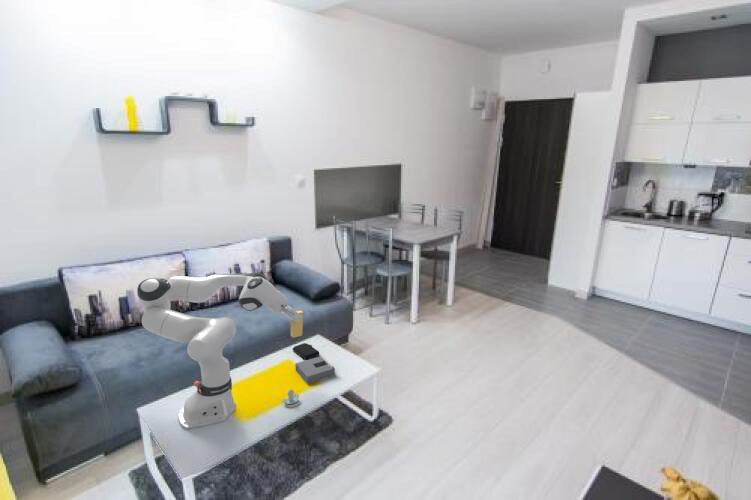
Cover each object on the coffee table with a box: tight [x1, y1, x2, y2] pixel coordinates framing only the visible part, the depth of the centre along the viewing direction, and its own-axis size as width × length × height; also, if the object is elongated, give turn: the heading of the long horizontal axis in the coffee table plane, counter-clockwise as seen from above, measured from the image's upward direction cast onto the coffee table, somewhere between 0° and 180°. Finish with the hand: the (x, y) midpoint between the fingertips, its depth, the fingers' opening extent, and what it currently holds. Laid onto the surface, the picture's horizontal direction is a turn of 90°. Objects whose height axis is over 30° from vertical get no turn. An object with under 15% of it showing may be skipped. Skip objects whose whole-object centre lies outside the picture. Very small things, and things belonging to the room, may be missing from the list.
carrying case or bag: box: [292, 342, 320, 361], centre depth 222 cm, size 11×3×15 cm
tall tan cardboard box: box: [290, 310, 304, 338], centre depth 191 cm, size 5×2×12 cm, turn 129°
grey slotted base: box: [295, 355, 336, 385], centre depth 202 cm, size 15×14×5 cm
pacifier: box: [282, 389, 301, 408], centre depth 178 cm, size 7×6×6 cm
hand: (296, 318), depth 191 cm, fingers closed on tall tan cardboard box, 2 cm apart
